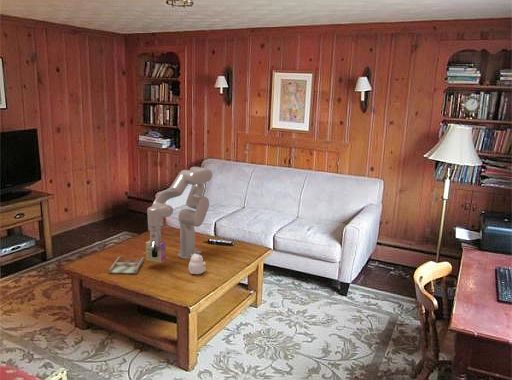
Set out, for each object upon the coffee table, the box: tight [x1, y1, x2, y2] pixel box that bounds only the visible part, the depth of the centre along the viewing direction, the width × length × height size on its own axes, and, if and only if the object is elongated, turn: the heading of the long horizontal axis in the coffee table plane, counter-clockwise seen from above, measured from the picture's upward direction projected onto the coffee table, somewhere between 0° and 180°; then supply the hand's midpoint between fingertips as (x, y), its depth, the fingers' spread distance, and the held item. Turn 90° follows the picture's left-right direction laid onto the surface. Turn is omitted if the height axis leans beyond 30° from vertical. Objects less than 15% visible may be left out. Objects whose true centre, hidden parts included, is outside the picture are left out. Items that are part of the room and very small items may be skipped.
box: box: [145, 239, 167, 264], centre depth 261 cm, size 10×6×12 cm, turn 72°
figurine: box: [188, 253, 207, 275], centre depth 257 cm, size 10×10×12 cm
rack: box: [108, 256, 145, 276], centre depth 262 cm, size 16×20×3 cm
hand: (156, 254), depth 262 cm, fingers closed on box, 7 cm apart
